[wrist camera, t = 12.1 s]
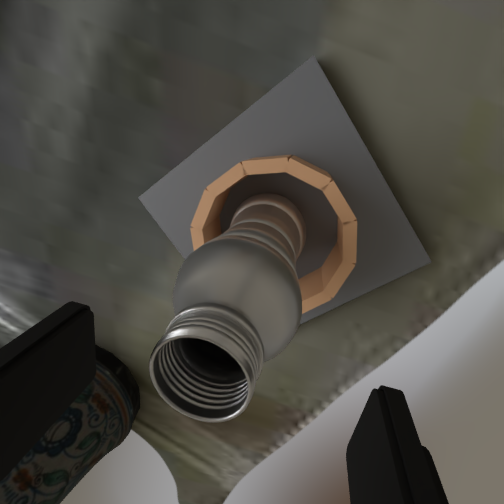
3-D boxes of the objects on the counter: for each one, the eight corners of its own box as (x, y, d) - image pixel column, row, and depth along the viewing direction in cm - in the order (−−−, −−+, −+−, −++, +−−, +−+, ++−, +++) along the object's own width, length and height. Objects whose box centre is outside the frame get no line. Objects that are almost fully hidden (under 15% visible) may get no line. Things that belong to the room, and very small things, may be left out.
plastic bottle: (284, 175, 27) (225, 252, 8) (319, 240, 28) (335, 430, 10) (225, 209, 29) (70, 332, 10) (260, 268, 30) (179, 469, 12)
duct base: (313, 59, 25) (314, 33, 19) (425, 256, 28) (456, 286, 22) (145, 195, 31) (106, 208, 25) (254, 339, 35) (242, 380, 29)
